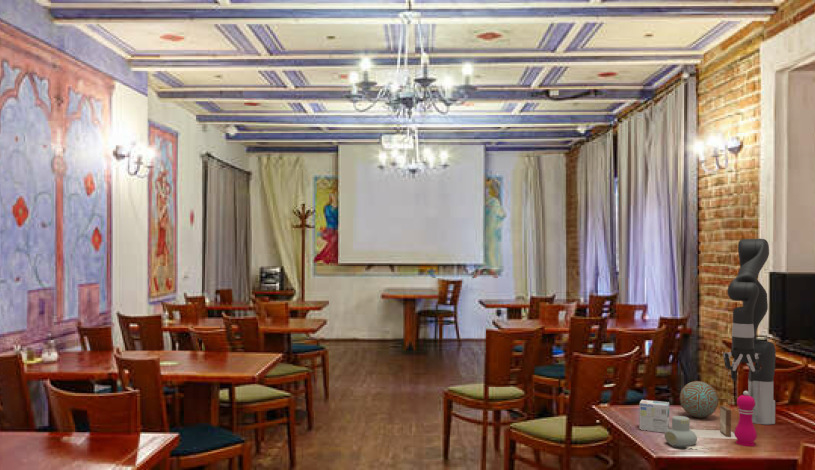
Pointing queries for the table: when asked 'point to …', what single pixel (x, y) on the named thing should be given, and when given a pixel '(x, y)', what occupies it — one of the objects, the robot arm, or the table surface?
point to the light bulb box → (654, 416)
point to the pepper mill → (745, 421)
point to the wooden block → (725, 421)
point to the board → (712, 434)
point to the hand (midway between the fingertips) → (742, 380)
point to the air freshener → (680, 433)
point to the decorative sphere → (699, 399)
